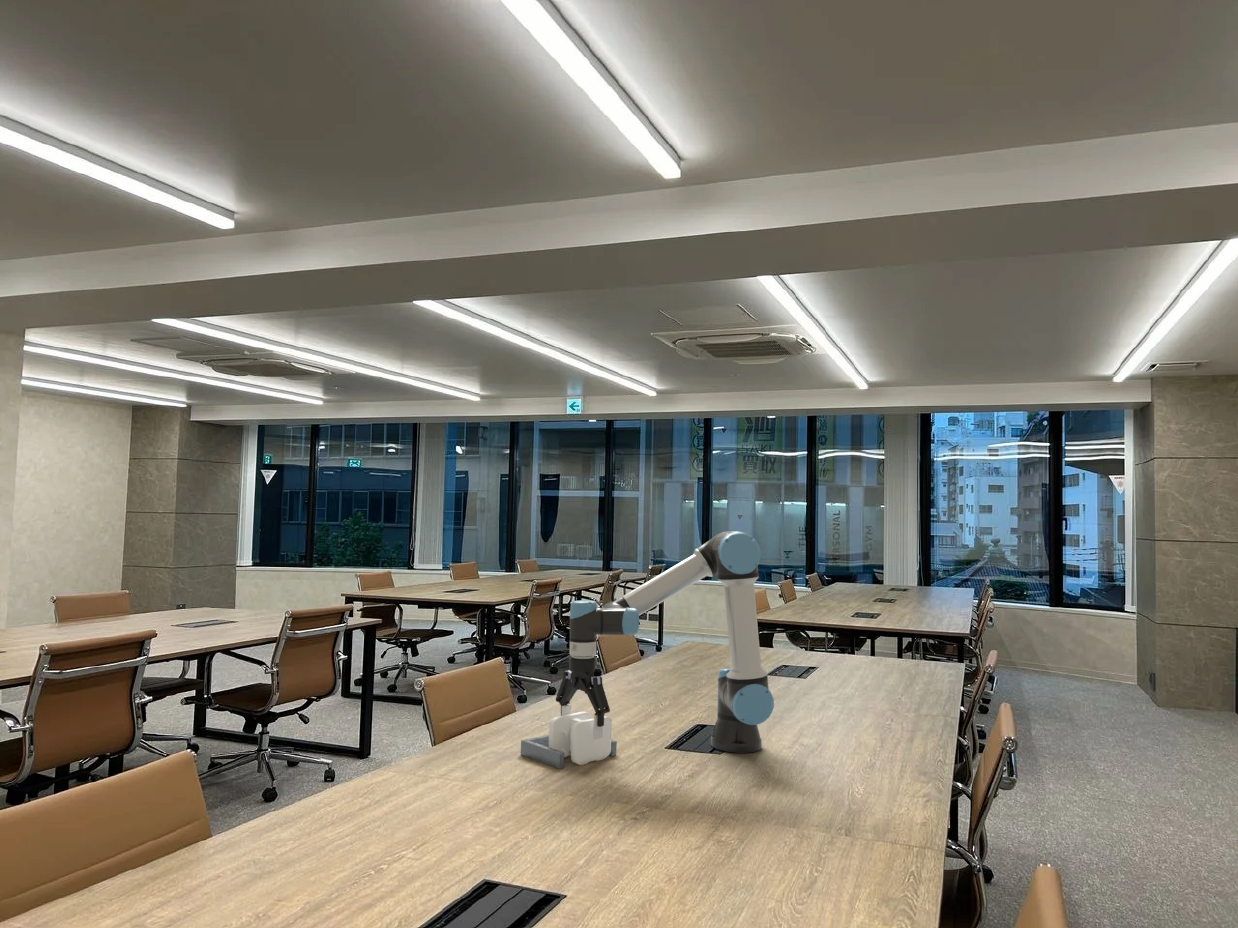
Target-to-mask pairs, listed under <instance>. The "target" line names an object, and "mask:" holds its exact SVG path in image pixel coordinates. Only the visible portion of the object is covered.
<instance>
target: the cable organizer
mask: <svg viewBox="0 0 1238 928" xmlns="http://www.w3.org/2000/svg"><path fill="white" fill-rule="evenodd" d="M612 725H613V720H612V719H611V718H610V717H609V716H606V715H604V726H603V738H598V739H594V717H593V718H592V714H591V713H589V712H588V711H587V712H586V711H579V712H574V713H571V714H568V715H563V716H561V715H559V716H555V717H553V718H552V719H551V720H550V721H549V725H548V727H549V728H548V735H549V748H552V749H555V750H558V751H561V752H564V759H565V758H567V757H568V756H570V760H571V762H572V763H574V764H576V765H579V766H583V765H588V764H589V762H594V761H597V762H598V761H601V760H604V759H606V758H607V757H609V756H610V755H609V754H610V752H611V739H612V734H613V733H612V731H613V726H612Z"/></svg>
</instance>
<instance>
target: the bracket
mask: <svg viewBox="0 0 1238 928" xmlns="http://www.w3.org/2000/svg"><path fill="white" fill-rule="evenodd" d="M617 742H618V741H617V740H614V739H612V738H611V752H610V754H609V755H608V756H610V757H615V756H617ZM520 755H521V756H524V757H526V758H529V759H530V760H534V761H537V762H540V763H542V764H545V765H548V766H551V767H552V768H556V769H558V770H560V769H561V770H562V769H564V768H565V766H564V765H565V758H564V752H561V751H558V750H555V749H552V748H549V734H544V735H540V736H535V737H530V738H526V739H521V740H520Z"/></svg>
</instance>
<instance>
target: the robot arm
mask: <svg viewBox="0 0 1238 928" xmlns="http://www.w3.org/2000/svg"><path fill="white" fill-rule="evenodd" d="M761 556H762V554H761V548H760V545H759V543H758V542H757V540H756V539H755V537H753V536H752V535H750V534H748V533H747V532H744V531H741V530H740V531H739V530H738V531H736V530H734V531H733V530H726V531H721V532H720V533H717V534H716V535H715V536H713V537H712V538H710V539H709V540H708V541H706V542H705V543H703V544H702V545H700V546H698V547H697V548H695V549H694V551H693V554H692V555H690V556H689V557H688V556H687V558H685V559H683V560H681V561H679V562H678V563H677V564H675V565H673V566H672V567H669V568H668V569H667V570H664V571H663V572H661V573H660V574H658V575H656V576H655V577H653V578H651V579H650V580H648V581H646V582H644V583H642V584H641V585H640V586H637V587H636V588H634V589H633V590H631V591H629V592H627V593H626V594H624V595H622V596H621V597H620V598H618V599H615V600H614V601H609V602H608V603H606V604H605V605H603V606H602V608H601V607H598V603H597V602H596V601H595V600H587V599H586V600H582V599H581V600H574V601H573V602H571V604H570V610H569V611H570V613H569V656H570V657H569V658H568V659H569V660H568V664H569V665H568V667H569V668H568V670H564V671H563V674H562V680H561V683H560V686H559V688H558V691H557V694H556V697H555V702H556V703H559V705H560V716H563V715H568V714H572V713H571V712H572V711H571V709H572V707H571V705H572V704H571V700H572V699H573V697H574V695H575V694H576V693H577V691H581V692H584V693H585V694H586V695H587V697H588V700H589V701H590V704H591V705H592V708H593V710H594V714H593V718H594V739H598V738H603V726H604V716H605V714H608V713H610V712H611V710H610V709H611V708H610V706H609V702H608V699H607V696H606V691H605V688H604V684H603V677H602V676H601V675H600V676H595V675H594V673H595V671H596V669H597V658H596V655H597V636H604V635H605V636H606V635H607V636H608V635H609V636H633V635H634V636H635V635H637V634H638V633H639V628H640V616H641V615H643V614H644V613H646V612H648V611H650V610H651V609H653V608H654V607H656V606H659V604H660V605H661V604H662V603H664V602H665V601H667V600H668V599H670V598H672V597H674V596H675V595H677V594H678V593H680V592H682V591H684V590H685V589H687V588H689V587H690V586H692V585H694V584H696V583H697V582H699V581H700V580H703V579H704V578H706V577H711V578H712V577H714V576H716V575H717V581H719V582H720V583H721V584H722V585H723V588H724V601H725V602H724V603H725V613H726V623H727V624H726V625H727V637H728V646H729V658H730V668H720V670H719V671H718V675H717V710H716V711H717V716H716V722H715V724H714V727H713V731H712V734H711V736H710V745H711V747H712V748H714V749H716V750H719V751H722V752H728V753H736V754H743V753H744V754H749V753H755V752H759V751H760V750H761V749H762V744H763V743H762V741H763V740H762V738H761V735H760V730H759V726H758V725H760V724H763V723H764V722H766V721H767V720H768V719H769V718H770V717H771V716H772V713H773V711H774V708H775V700H774V696H773V694H772V692H771V690H770V688H769V677H768V676H769V675H768V672H767V671H766V670H765V669H764V668H763V667H762V659H761V647H760V639H759V626H758V615H757V605H756V604H757V603H756V594H755V592H756V591H755V590H756V589H755V583H756V581H757V580H758V579H759V578H760V577H759V567H758V566H759V563H760V561H761V558H762V557H761Z"/></svg>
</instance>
